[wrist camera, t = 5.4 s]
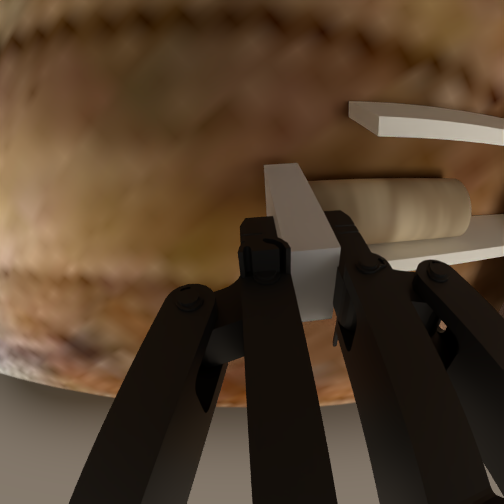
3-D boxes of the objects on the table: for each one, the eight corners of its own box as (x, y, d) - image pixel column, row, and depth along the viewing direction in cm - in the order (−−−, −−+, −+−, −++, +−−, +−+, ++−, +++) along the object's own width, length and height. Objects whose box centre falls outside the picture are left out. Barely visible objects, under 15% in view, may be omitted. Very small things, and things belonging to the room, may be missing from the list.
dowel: (290, 192, 16) (297, 253, 16) (298, 172, 13) (307, 246, 13) (435, 187, 17) (444, 240, 16) (464, 171, 13) (475, 231, 13)
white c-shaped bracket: (348, 101, 13) (380, 116, 10) (554, 131, 13) (587, 151, 10) (342, 237, 17) (362, 278, 15) (532, 221, 17) (559, 246, 14)
